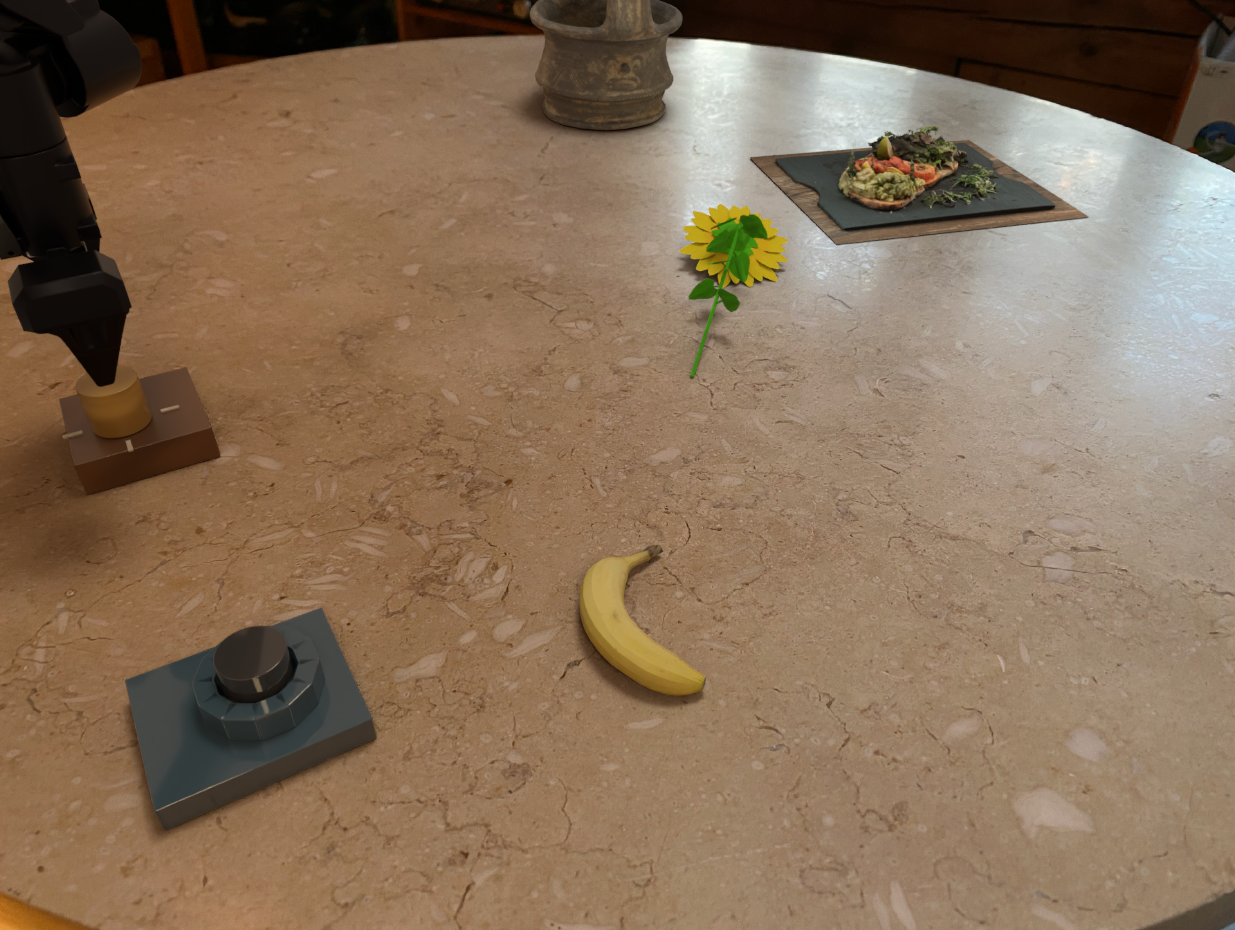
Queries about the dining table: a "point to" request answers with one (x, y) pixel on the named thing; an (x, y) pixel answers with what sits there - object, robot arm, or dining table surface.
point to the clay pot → (604, 61)
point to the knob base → (244, 724)
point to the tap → (115, 404)
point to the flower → (731, 254)
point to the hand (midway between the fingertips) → (96, 354)
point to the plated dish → (911, 189)
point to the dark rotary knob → (253, 664)
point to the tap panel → (143, 436)
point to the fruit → (630, 630)
